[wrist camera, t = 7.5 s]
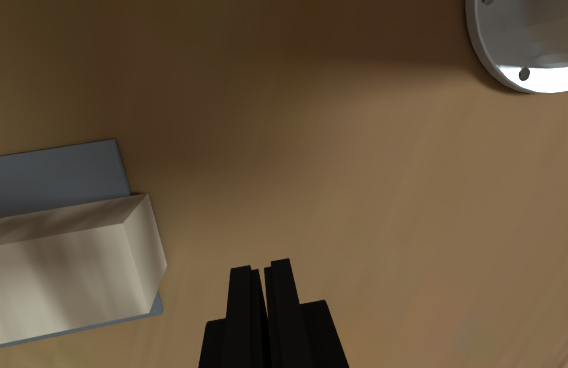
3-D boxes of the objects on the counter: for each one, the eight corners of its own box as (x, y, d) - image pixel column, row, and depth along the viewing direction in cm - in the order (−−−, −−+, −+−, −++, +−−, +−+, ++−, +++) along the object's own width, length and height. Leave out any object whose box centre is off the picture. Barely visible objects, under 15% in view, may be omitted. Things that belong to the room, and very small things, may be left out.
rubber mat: (115, 138, 20) (113, 139, 19) (163, 310, 23) (162, 313, 23) (-151, 178, 18) (-159, 180, 18) (-58, 356, 22) (-63, 361, 21)
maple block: (122, 223, 16) (-114, 265, 15) (149, 312, 17) (-65, 357, 16) (148, 193, 20) (-29, 223, 19) (166, 265, 22) (3, 296, 21)
